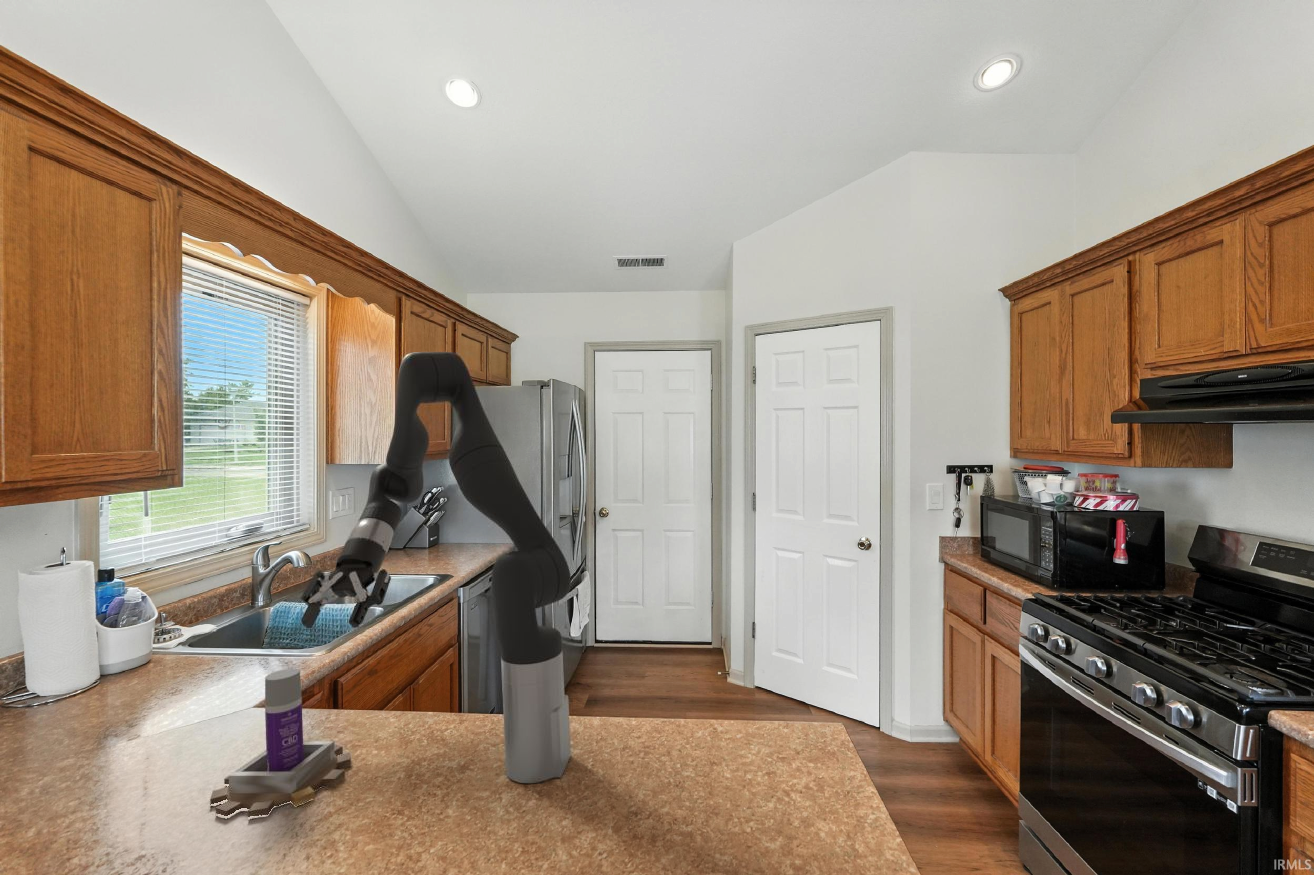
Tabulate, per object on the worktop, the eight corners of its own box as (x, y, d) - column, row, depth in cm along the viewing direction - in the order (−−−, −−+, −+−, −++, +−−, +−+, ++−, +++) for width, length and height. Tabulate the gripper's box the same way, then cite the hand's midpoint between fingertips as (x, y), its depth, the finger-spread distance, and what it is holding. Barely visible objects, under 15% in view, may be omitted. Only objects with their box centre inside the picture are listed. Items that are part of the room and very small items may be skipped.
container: (285, 783, 83) (282, 680, 83) (259, 781, 84) (256, 679, 84) (311, 765, 88) (308, 668, 88) (285, 763, 89) (282, 667, 89)
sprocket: (373, 751, 94) (373, 728, 94) (298, 820, 76) (297, 792, 76) (274, 751, 95) (273, 729, 95) (177, 819, 78) (177, 792, 78)
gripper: (322, 537, 107) (278, 616, 95) (393, 534, 106) (358, 614, 94) (341, 559, 112) (302, 637, 101) (409, 557, 111) (378, 635, 99)
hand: (329, 625), depth 97 cm, fingers open, 8 cm apart
